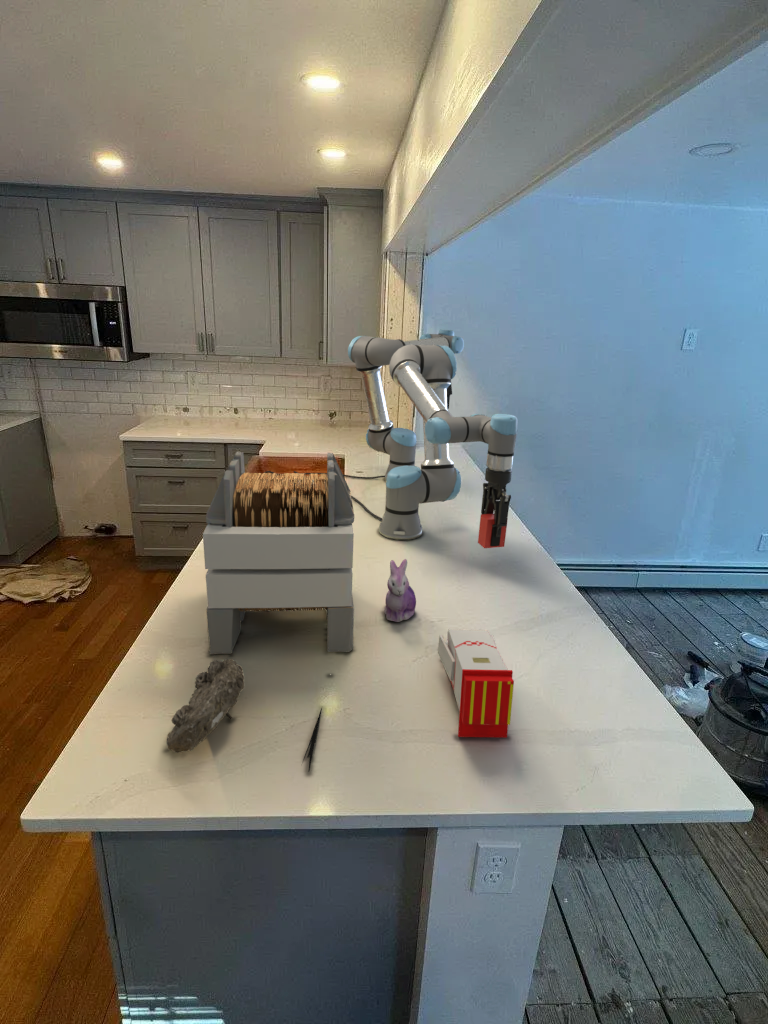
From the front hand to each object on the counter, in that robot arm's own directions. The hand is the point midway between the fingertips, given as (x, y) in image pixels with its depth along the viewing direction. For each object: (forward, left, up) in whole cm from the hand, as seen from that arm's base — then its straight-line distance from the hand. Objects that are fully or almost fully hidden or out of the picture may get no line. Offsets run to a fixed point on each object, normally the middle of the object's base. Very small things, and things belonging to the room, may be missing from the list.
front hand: (490, 542), depth 173 cm
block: (0, 0, -1) cm, 1 cm away
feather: (+25, -80, -9) cm, 84 cm away
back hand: (-99, +79, +20) cm, 128 cm away
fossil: (+12, -96, -9) cm, 97 cm away
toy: (+37, -50, -9) cm, 63 cm away
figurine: (+4, -41, -9) cm, 42 cm away
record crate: (-12, -65, -9) cm, 67 cm away
